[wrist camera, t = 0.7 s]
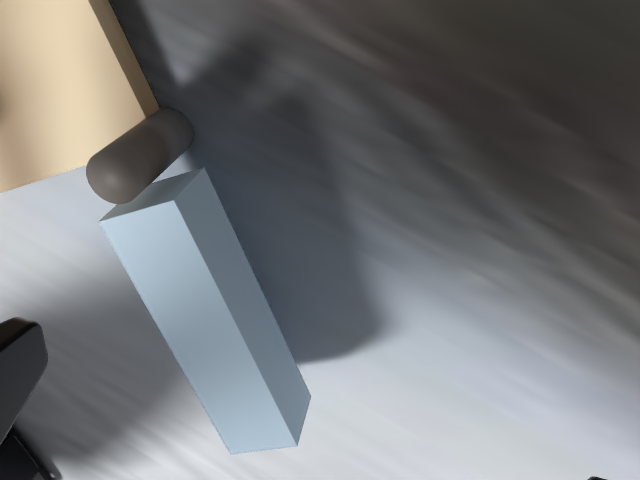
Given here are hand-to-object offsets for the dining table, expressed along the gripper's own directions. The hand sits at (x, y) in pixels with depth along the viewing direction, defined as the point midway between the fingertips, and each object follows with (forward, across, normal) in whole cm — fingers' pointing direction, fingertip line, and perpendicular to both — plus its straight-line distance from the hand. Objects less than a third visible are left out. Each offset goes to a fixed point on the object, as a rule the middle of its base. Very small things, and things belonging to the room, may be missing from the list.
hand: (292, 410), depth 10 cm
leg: (+11, +6, +8) cm, 15 cm away
